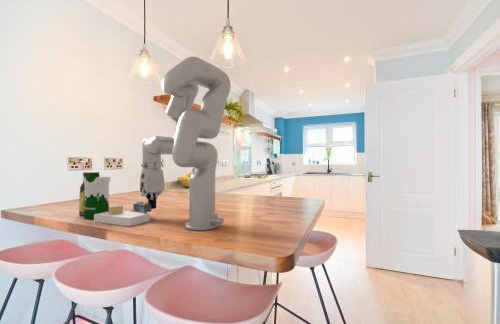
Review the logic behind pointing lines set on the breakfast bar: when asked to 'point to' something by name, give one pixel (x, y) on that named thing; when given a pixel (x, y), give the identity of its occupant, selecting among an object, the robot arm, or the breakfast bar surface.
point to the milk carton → (96, 194)
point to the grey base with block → (121, 217)
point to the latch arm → (142, 206)
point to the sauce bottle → (82, 196)
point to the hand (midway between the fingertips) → (152, 208)
